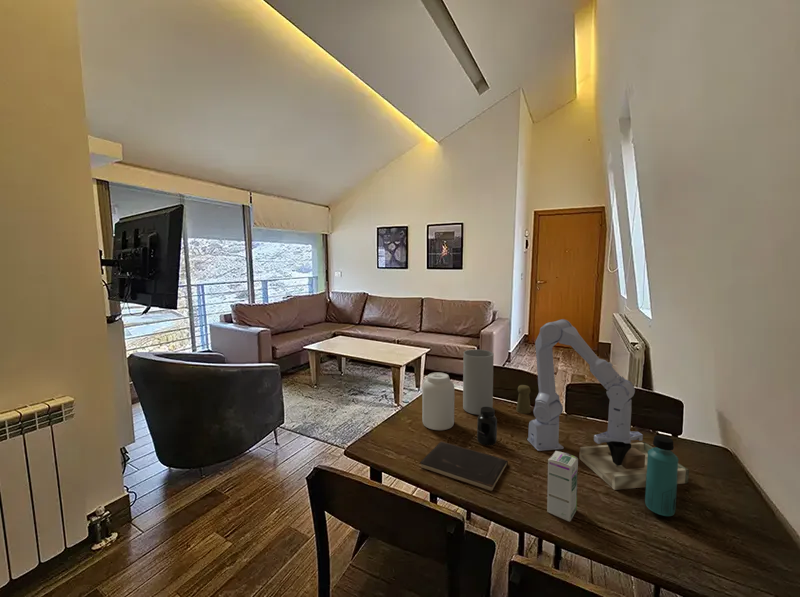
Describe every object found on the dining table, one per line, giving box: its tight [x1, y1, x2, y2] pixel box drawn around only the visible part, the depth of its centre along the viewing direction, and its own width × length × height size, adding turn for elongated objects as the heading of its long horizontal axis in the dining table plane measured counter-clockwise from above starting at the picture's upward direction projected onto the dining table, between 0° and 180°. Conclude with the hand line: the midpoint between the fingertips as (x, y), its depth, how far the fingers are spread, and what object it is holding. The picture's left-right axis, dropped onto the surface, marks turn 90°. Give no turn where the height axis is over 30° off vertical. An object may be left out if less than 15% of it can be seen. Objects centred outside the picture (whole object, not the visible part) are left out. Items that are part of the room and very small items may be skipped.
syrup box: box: [546, 450, 579, 523], centre depth 91 cm, size 6×6×14 cm
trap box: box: [578, 441, 690, 491], centre depth 109 cm, size 23×16×4 cm
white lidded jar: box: [421, 371, 455, 431], centre depth 141 cm, size 12×12×20 cm
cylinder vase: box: [462, 349, 495, 416], centre depth 154 cm, size 12×12×25 cm
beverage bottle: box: [644, 434, 679, 517], centre depth 90 cm, size 6×7×20 cm
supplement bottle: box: [476, 407, 498, 447], centre depth 127 cm, size 7×7×12 cm
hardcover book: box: [419, 440, 509, 491], centre depth 112 cm, size 16×23×2 cm
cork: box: [515, 384, 532, 415], centre depth 153 cm, size 6×6×11 cm
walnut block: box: [621, 448, 645, 469], centre depth 109 cm, size 6×4×4 cm, turn 97°
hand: (616, 463), depth 109 cm, fingers closed
